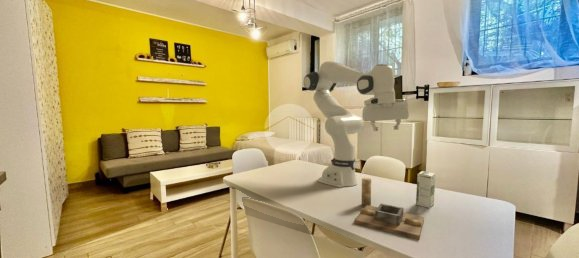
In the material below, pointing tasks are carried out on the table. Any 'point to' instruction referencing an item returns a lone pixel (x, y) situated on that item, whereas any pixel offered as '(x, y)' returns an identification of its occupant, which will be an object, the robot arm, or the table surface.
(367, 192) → the pin
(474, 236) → the table surface
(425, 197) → the syrup box
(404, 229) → the wooden socket board
